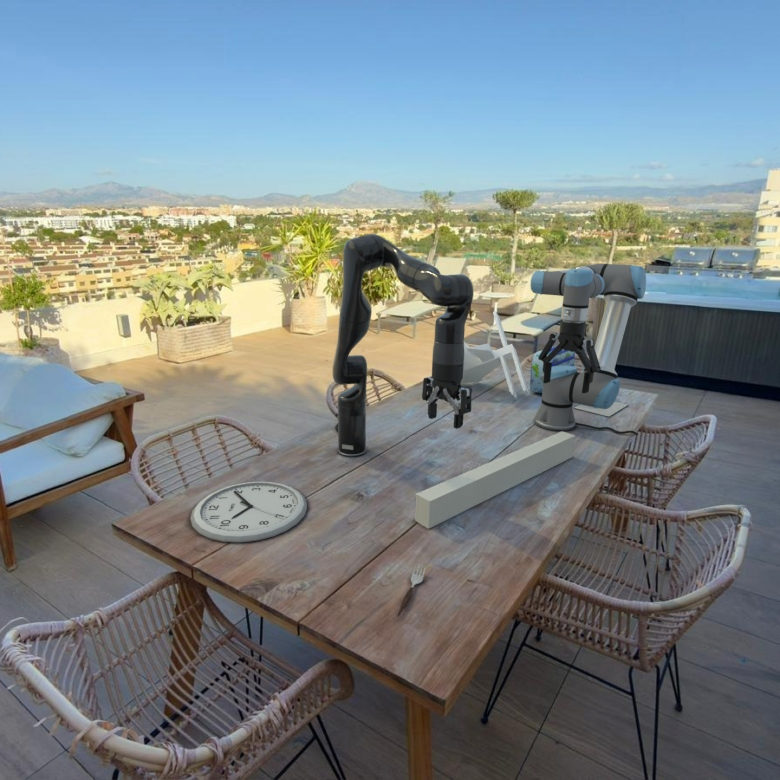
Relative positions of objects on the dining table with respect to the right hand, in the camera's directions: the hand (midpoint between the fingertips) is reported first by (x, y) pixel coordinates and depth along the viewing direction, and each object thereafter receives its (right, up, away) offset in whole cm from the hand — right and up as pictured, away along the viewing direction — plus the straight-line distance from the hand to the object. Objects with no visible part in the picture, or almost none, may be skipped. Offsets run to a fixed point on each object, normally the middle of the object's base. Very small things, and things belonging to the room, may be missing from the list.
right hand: (565, 387), depth 166 cm
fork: (-51, -43, -57) cm, 88 cm away
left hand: (-42, -9, -36) cm, 56 cm away
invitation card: (+36, -8, +60) cm, 71 cm away
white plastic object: (-14, -2, +77) cm, 79 cm away
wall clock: (-93, -33, -26) cm, 102 cm away
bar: (-22, -29, -10) cm, 38 cm away
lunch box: (+20, -1, +81) cm, 84 cm away
